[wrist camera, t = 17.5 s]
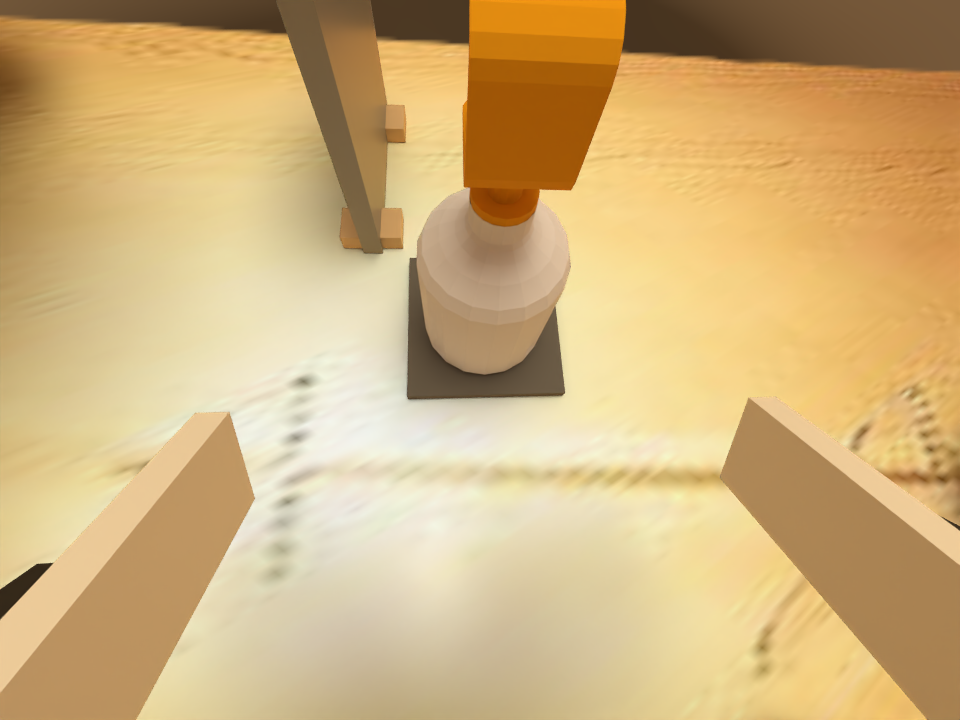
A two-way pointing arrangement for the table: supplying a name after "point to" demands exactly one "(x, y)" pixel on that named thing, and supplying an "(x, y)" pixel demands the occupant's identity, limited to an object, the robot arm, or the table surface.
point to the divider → (350, 111)
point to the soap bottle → (515, 175)
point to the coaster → (448, 381)
